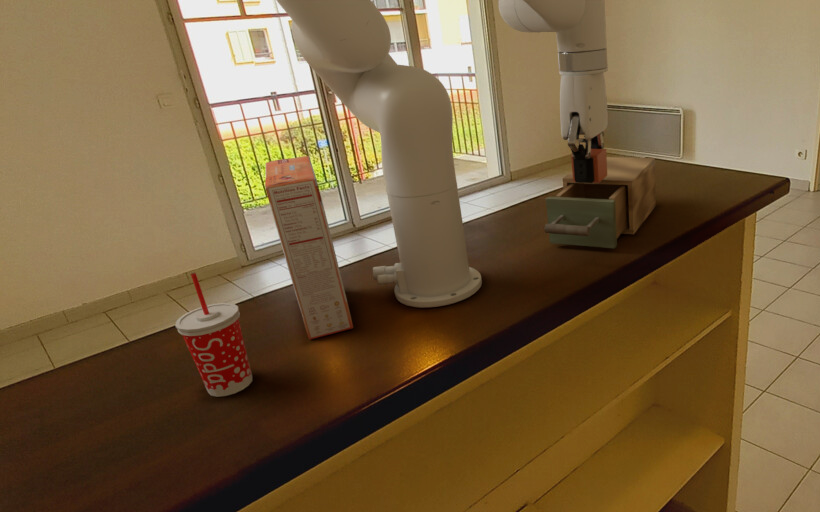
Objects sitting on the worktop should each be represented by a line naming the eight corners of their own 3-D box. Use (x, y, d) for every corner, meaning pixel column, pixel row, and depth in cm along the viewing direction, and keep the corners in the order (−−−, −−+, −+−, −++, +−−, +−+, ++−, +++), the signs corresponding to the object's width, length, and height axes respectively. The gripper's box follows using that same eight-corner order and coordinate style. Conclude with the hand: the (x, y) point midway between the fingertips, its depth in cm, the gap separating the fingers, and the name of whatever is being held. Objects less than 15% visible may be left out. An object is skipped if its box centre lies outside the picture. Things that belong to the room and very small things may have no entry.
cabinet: (633, 234, 105) (632, 180, 102) (566, 229, 110) (562, 178, 106) (655, 206, 119) (655, 158, 115) (594, 203, 123) (592, 156, 120)
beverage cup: (187, 400, 68) (145, 286, 62) (224, 369, 73) (188, 262, 68) (237, 401, 67) (198, 286, 61) (270, 370, 72) (237, 261, 67)
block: (598, 183, 98) (597, 155, 96) (572, 182, 100) (570, 155, 98) (607, 175, 102) (606, 148, 100) (582, 174, 104) (580, 148, 102)
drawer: (602, 263, 93) (599, 215, 90) (534, 257, 97) (529, 210, 94) (639, 218, 110) (637, 176, 107) (580, 215, 114) (577, 174, 111)
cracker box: (301, 300, 90) (263, 160, 82) (343, 290, 92) (311, 153, 84) (305, 342, 78) (261, 184, 70) (354, 330, 80) (317, 175, 72)
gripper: (579, 57, 102) (586, 164, 109) (538, 70, 88) (549, 192, 95) (622, 55, 100) (626, 165, 107) (587, 68, 85) (594, 194, 92)
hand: (590, 176), depth 101 cm, fingers closed on block, 4 cm apart
